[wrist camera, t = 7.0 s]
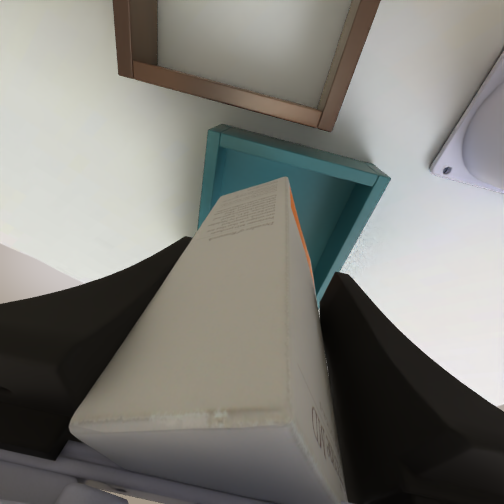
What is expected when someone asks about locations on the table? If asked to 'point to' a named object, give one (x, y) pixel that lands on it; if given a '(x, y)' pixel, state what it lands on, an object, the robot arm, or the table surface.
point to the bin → (297, 190)
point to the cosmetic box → (227, 365)
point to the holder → (146, 70)
